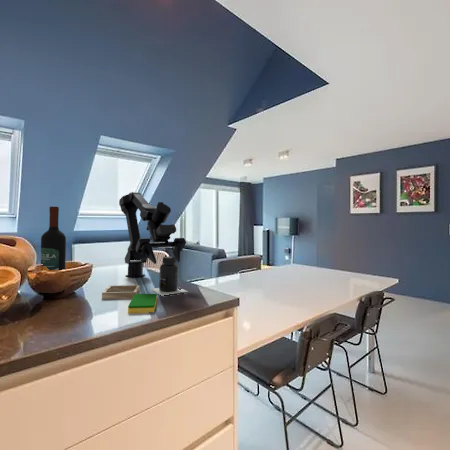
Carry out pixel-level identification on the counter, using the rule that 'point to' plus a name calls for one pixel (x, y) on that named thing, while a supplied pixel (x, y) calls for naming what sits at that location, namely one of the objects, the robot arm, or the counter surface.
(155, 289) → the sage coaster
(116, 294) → the frame
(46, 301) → the counter surface
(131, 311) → the dish sponge
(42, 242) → the wine bottle
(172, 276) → the supplement bottle
